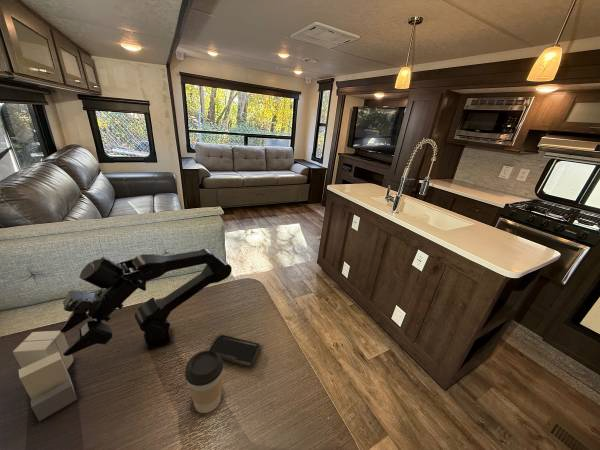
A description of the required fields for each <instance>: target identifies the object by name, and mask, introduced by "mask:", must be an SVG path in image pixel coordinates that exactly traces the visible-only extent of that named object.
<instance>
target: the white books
mask: <svg viewBox="0 0 600 450" xmlns="http://www.w3.org/2000/svg"><path fill="white" fill-rule="evenodd" d="M69 346H70V345H69V344H68V342H67V339H66V336H65V333H62V332H60V330H47V331H45V330H44V331H32V332H31V333H30V334H29V335H28V336H27V337H26V338H25V339H24V340H23V341H22V342H21V343H20V344H19V345H18V346H17V347H16V348H15V349H14V350H13V351H12V354H13V355H14V357H15V359H16V361H17V363H18V365H19V366H20V369H22V368H24V367H26V366H28V365H30V364H33V363H35V362H37V361H39V360H41V359H44V358H46V357H48V356H50V355H52V354H55V353H57V352H59V353H60V355H61V358H62V360H63V361H64V363H65V365H66V368H67V370H68V369H69V368H70V366H72V364H73V362H74V357H73V354H71V355H69V356H64V355H63V353H64V352H65V351H66V350H67V349H68V347H69Z"/></svg>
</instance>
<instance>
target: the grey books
mask: <svg viewBox="0 0 600 450" xmlns="http://www.w3.org/2000/svg"><path fill="white" fill-rule="evenodd" d="M63 363H64V361H63ZM64 365H65V363H64ZM65 367H66V365H65ZM66 370H67V372H68V374H69V377H70V379H71V380H72V378H71V374H70V373H69V370H68V369H67V368H66ZM71 382H72V381H71ZM71 382H70V380H69V381H67V382H65V383H64V384H62V385H60V386H58V387H56V388H54V389H52V390H50V391H48V392H47V393H45V394H43V395H41V396H39V397H37V398H35V399H33V400H31V399H30V407H31V410H32V411H33V414H34V415H35V416H36V419H37V420H38V422H41V421H42V420H44V419H46V418H47V417H50V416H51V415H53V414H55V413H56V412H58V411H60V410H62V409H63V408H65V407H67V406H68V405H70V404H72V403H74V402H75V401H77V400H78V397H77V394H76V392H75V388H74V386H73V387H72V384H73V383H72V384H71ZM73 388H74V389H73Z"/></svg>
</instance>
